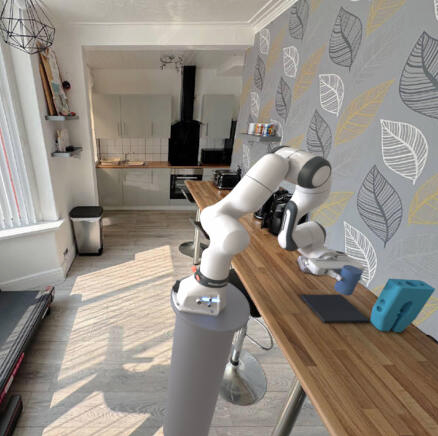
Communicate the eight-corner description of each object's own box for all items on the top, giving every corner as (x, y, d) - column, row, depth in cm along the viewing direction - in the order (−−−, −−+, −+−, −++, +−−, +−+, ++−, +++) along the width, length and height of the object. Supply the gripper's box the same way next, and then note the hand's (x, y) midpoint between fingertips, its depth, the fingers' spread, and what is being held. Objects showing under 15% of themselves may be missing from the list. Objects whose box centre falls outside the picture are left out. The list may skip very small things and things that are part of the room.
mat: (324, 322, 90) (324, 320, 89) (300, 296, 102) (301, 294, 102) (368, 322, 91) (369, 320, 90) (339, 296, 103) (340, 294, 103)
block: (395, 321, 91) (421, 280, 83) (408, 332, 87) (437, 289, 79) (364, 319, 91) (387, 278, 83) (374, 330, 87) (400, 287, 79)
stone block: (314, 266, 127) (295, 259, 129) (319, 259, 125) (299, 252, 127) (320, 279, 117) (299, 272, 119) (326, 272, 115) (304, 265, 117)
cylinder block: (341, 295, 88) (352, 274, 84) (330, 285, 93) (339, 264, 89) (355, 295, 88) (366, 273, 84) (343, 285, 94) (353, 264, 89)
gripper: (302, 252, 98) (327, 272, 86) (348, 252, 99) (379, 272, 87) (298, 264, 101) (321, 286, 88) (343, 264, 102) (372, 286, 89)
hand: (350, 279), depth 88 cm, fingers closed on cylinder block, 5 cm apart
